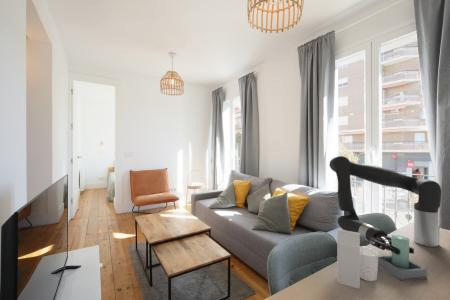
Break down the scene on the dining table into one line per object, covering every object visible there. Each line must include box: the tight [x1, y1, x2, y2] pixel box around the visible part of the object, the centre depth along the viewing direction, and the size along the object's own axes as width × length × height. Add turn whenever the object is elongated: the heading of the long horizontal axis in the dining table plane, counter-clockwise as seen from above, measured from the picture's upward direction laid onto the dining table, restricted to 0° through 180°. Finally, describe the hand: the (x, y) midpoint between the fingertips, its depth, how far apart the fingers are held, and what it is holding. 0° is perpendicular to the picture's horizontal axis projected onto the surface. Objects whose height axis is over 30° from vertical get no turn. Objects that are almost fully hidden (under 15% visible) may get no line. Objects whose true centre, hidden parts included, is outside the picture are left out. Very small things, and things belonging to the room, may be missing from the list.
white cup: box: [360, 245, 380, 282], centre depth 85 cm, size 8×8×10 cm
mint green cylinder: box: [390, 234, 410, 269], centre depth 88 cm, size 6×6×11 cm
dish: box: [378, 255, 428, 282], centre depth 88 cm, size 11×11×4 cm
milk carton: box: [336, 229, 361, 290], centre depth 82 cm, size 7×7×19 cm
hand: (406, 251), depth 86 cm, fingers closed on mint green cylinder, 5 cm apart
